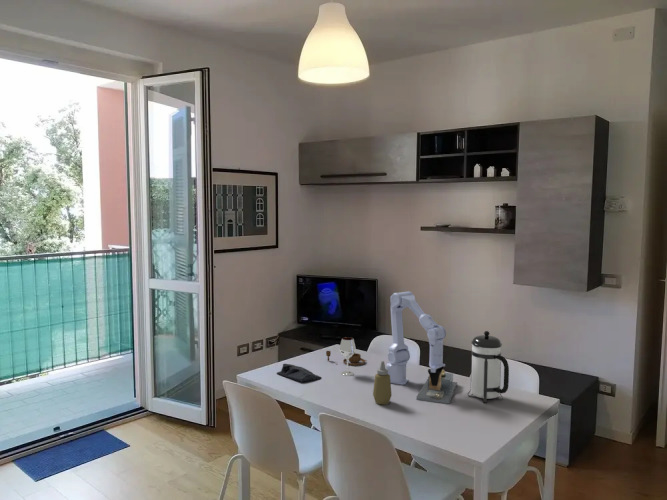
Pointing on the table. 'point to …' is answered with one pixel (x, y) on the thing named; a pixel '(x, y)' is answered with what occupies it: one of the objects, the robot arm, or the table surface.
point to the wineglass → (347, 351)
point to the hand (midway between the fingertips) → (435, 383)
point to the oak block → (437, 384)
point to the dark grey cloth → (297, 373)
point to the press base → (438, 395)
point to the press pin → (443, 373)
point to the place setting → (350, 359)
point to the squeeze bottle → (382, 386)
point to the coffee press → (487, 367)
